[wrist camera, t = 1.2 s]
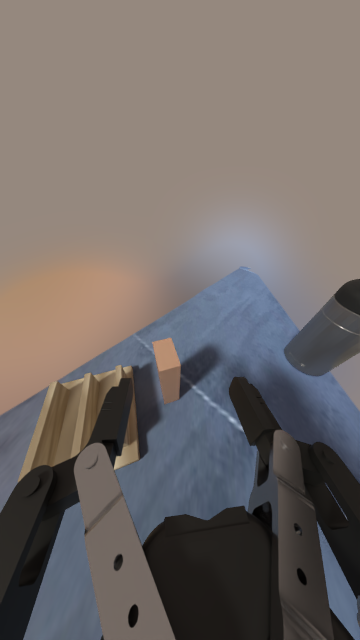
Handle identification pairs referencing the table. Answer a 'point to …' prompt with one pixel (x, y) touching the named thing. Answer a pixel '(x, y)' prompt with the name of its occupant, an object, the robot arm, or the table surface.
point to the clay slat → (168, 369)
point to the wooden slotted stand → (78, 421)
